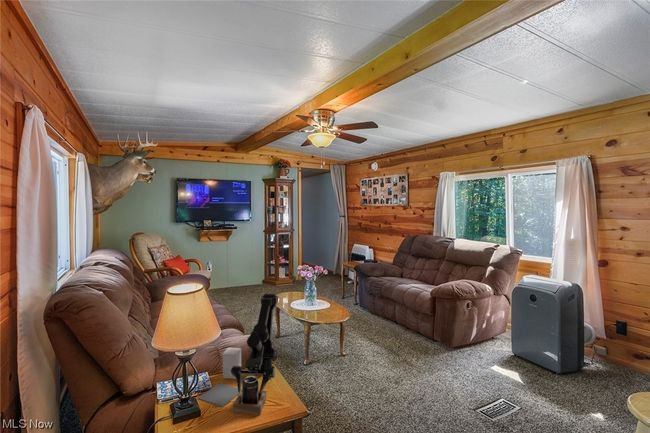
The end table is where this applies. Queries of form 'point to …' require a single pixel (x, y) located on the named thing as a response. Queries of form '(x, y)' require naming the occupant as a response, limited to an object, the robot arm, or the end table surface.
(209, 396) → the slate mat
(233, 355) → the supplement box
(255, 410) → the pocket frame
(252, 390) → the beverage can
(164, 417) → the end table surface
